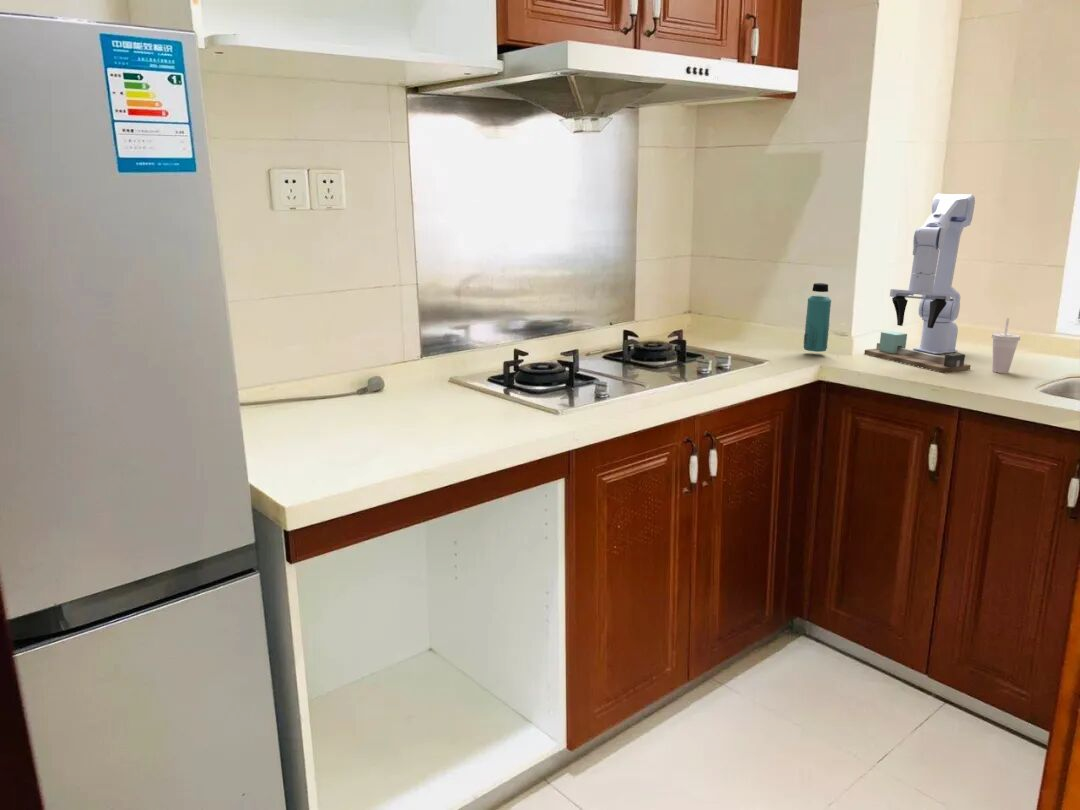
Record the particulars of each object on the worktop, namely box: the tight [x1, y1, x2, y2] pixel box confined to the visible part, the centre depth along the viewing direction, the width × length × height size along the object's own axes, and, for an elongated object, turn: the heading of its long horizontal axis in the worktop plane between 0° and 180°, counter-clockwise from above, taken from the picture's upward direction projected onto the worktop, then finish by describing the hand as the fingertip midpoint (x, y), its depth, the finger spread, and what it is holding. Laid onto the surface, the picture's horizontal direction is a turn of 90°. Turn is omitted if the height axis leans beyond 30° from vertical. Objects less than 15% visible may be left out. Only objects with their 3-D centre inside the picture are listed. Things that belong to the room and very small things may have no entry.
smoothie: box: [991, 317, 1021, 374], centre depth 211 cm, size 6×6×14 cm
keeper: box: [879, 330, 908, 354], centre depth 230 cm, size 5×4×5 cm
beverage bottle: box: [803, 282, 832, 353], centre depth 229 cm, size 6×7×20 cm
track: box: [863, 342, 972, 374], centre depth 223 cm, size 26×10×4 cm, turn 26°
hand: (914, 326), depth 215 cm, fingers open, 7 cm apart
